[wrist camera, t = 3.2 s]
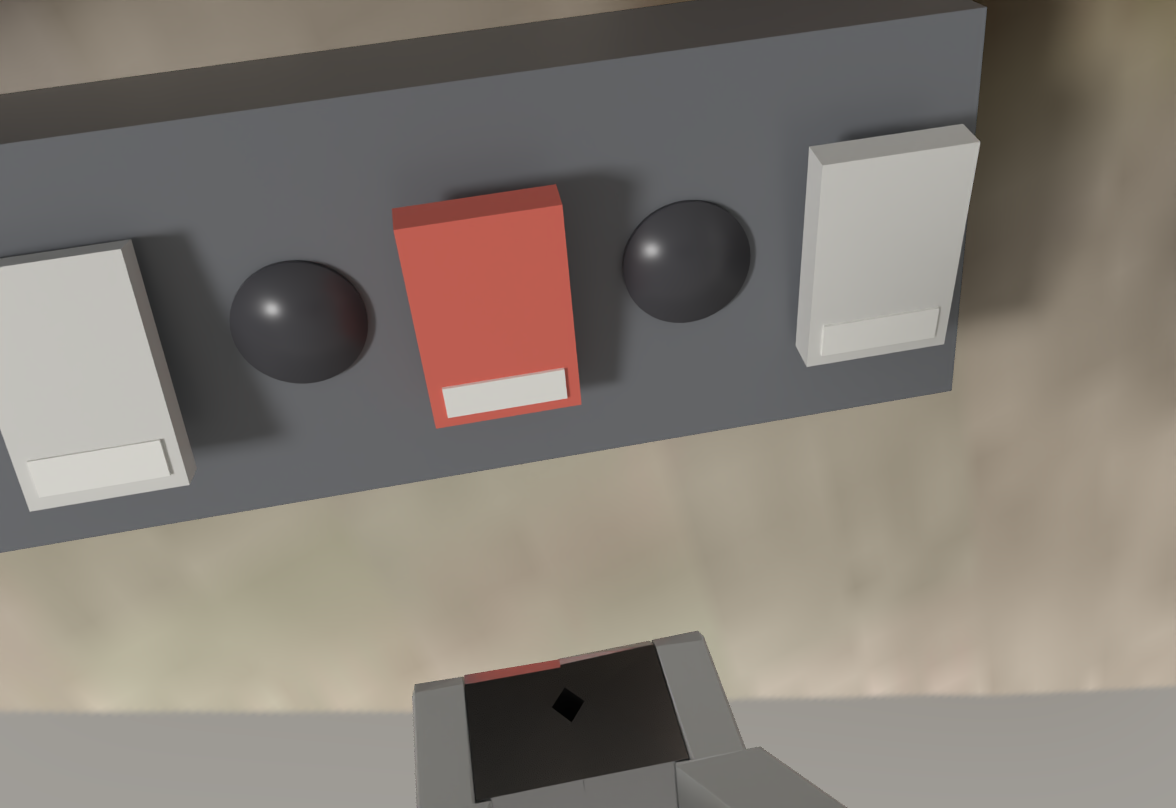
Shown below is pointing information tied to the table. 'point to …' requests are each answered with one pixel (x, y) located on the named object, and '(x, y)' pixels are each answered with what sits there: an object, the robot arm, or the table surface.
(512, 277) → the rocker middle
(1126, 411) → the table surface
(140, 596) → the table surface
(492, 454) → the strip housing
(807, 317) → the rocker
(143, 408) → the rocker
